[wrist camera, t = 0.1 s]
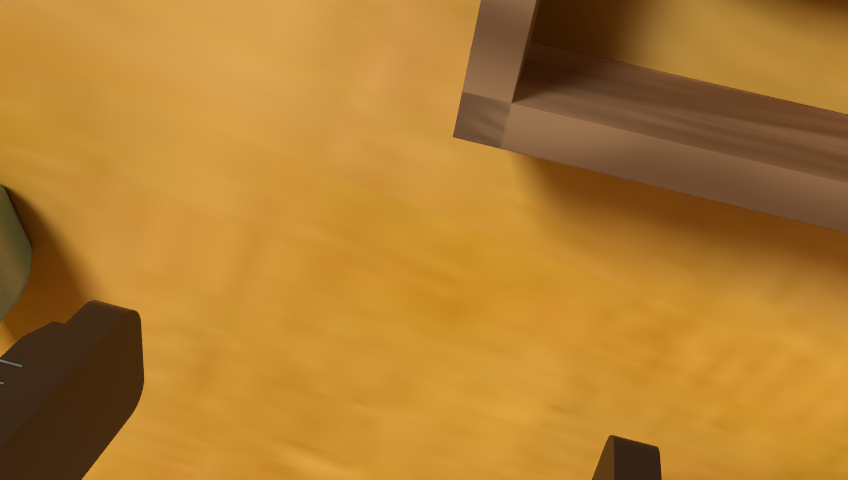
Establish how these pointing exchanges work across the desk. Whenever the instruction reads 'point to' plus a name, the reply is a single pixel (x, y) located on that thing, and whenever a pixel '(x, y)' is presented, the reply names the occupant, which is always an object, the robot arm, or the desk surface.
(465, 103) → the walnut rack
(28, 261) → the flower pot
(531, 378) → the desk surface
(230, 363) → the desk surface
